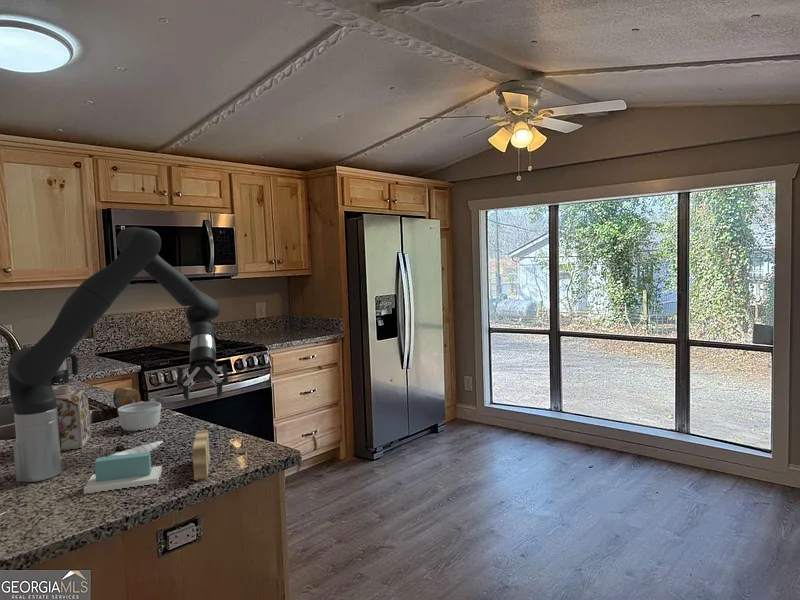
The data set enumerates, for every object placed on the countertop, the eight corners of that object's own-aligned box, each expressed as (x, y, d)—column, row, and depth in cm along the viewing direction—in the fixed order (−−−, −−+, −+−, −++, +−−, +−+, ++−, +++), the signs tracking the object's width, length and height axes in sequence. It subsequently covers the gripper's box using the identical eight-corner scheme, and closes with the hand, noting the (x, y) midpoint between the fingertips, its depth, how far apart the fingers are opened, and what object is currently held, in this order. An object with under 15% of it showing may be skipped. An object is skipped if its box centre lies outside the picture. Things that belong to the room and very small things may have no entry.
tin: (113, 408, 213) (111, 386, 212) (121, 406, 215) (119, 385, 215) (135, 414, 204) (133, 391, 203) (143, 411, 207) (141, 389, 206)
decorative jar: (91, 437, 177) (87, 381, 176) (83, 448, 166) (79, 388, 165) (48, 442, 173) (44, 384, 172) (37, 454, 162) (32, 392, 161)
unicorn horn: (174, 443, 169) (173, 427, 169) (121, 473, 146) (120, 455, 145) (160, 443, 170) (159, 427, 170) (105, 473, 147) (104, 455, 146)
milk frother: (55, 385, 258) (52, 354, 257) (31, 384, 264) (28, 352, 263) (82, 379, 271) (80, 349, 270) (59, 377, 277) (57, 348, 276)
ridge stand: (84, 494, 132) (82, 467, 132) (93, 480, 141) (91, 454, 140) (157, 484, 137) (155, 458, 136) (161, 471, 145) (160, 446, 145)
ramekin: (113, 427, 188) (112, 406, 187) (154, 418, 197) (153, 399, 196) (126, 435, 178) (124, 413, 178) (168, 426, 187) (167, 405, 186)
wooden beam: (207, 479, 139) (205, 447, 139) (194, 481, 139) (192, 449, 138) (209, 458, 155) (208, 429, 154) (198, 459, 154) (196, 431, 153)
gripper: (176, 346, 168) (175, 393, 158) (226, 343, 172) (228, 388, 162) (179, 361, 173) (178, 407, 163) (227, 357, 177) (229, 402, 167)
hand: (203, 397), depth 162 cm, fingers open, 8 cm apart
